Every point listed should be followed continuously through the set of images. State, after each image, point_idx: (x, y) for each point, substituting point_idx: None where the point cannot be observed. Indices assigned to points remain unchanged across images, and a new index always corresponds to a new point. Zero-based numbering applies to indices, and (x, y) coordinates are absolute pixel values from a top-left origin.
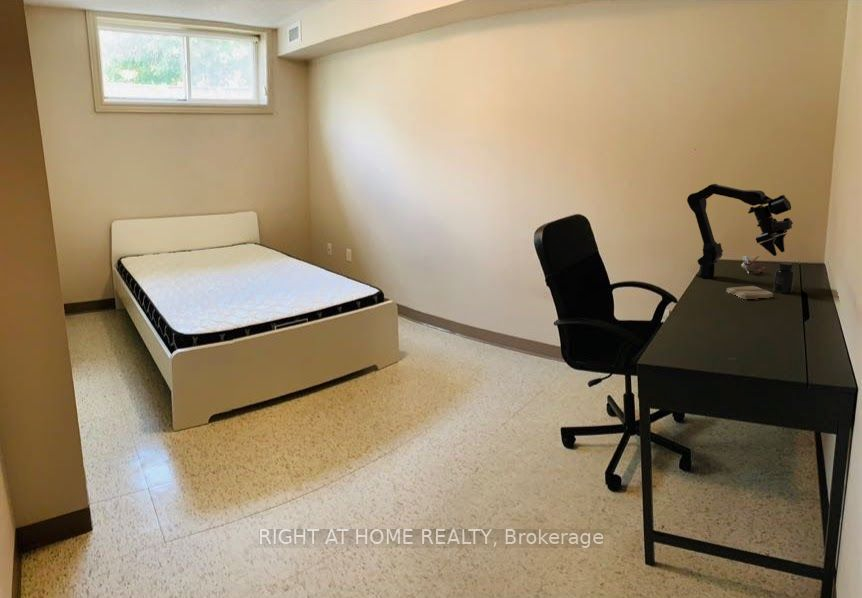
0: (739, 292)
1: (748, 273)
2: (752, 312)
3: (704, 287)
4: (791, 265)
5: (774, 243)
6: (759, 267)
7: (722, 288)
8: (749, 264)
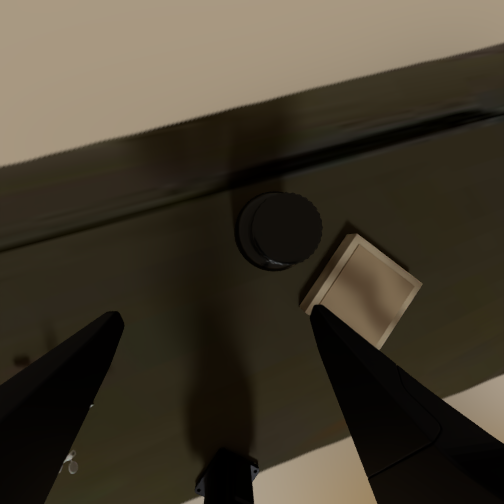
0: (402, 309)
1: (91, 405)
2: (491, 229)
3: None
4: (298, 196)
5: (42, 501)
6: None
7: None
8: None
